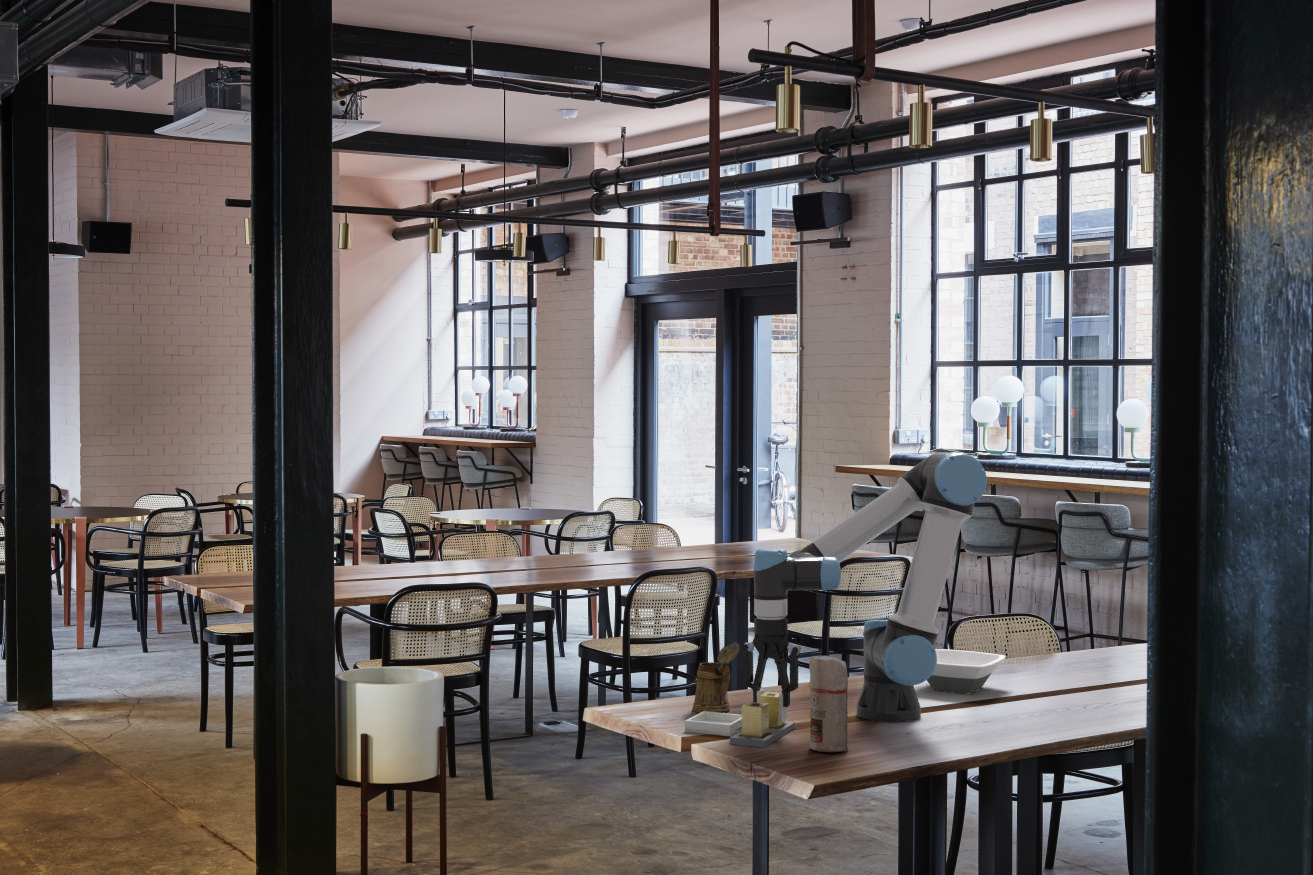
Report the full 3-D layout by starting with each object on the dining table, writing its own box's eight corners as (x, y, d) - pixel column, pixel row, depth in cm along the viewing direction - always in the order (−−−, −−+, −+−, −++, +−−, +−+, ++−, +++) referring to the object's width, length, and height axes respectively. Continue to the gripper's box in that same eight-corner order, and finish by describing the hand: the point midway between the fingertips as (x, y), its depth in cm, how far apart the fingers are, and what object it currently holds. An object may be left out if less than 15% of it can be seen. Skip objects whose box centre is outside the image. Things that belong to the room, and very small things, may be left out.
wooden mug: (719, 718, 302) (719, 642, 302) (685, 709, 313) (685, 635, 313) (748, 714, 307) (748, 639, 307) (713, 704, 318) (713, 632, 318)
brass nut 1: (768, 739, 281) (768, 702, 281) (761, 744, 277) (761, 706, 277) (749, 737, 283) (749, 701, 283) (741, 741, 279) (741, 705, 279)
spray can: (805, 745, 276) (805, 652, 276) (842, 744, 276) (842, 652, 276) (813, 754, 267) (813, 659, 267) (852, 754, 268) (852, 658, 268)
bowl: (1011, 686, 342) (1011, 654, 342) (984, 701, 322) (984, 667, 322) (932, 677, 353) (932, 647, 353) (901, 691, 334) (901, 659, 334)
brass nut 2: (784, 728, 290) (784, 692, 290) (777, 732, 286) (777, 696, 286) (765, 726, 292) (765, 691, 292) (758, 730, 288) (758, 695, 288)
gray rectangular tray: (794, 728, 292) (794, 721, 292) (764, 747, 274) (764, 740, 274) (761, 724, 295) (761, 718, 295) (729, 743, 277) (729, 736, 277)
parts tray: (747, 726, 294) (747, 715, 294) (730, 736, 284) (730, 724, 284) (704, 721, 299) (703, 710, 299) (685, 731, 289) (685, 720, 289)
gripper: (813, 616, 289) (814, 719, 289) (740, 612, 296) (741, 713, 296) (802, 621, 282) (803, 726, 282) (728, 617, 289) (729, 719, 289)
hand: (771, 719), depth 289 cm, fingers closed on brass nut 2, 5 cm apart
